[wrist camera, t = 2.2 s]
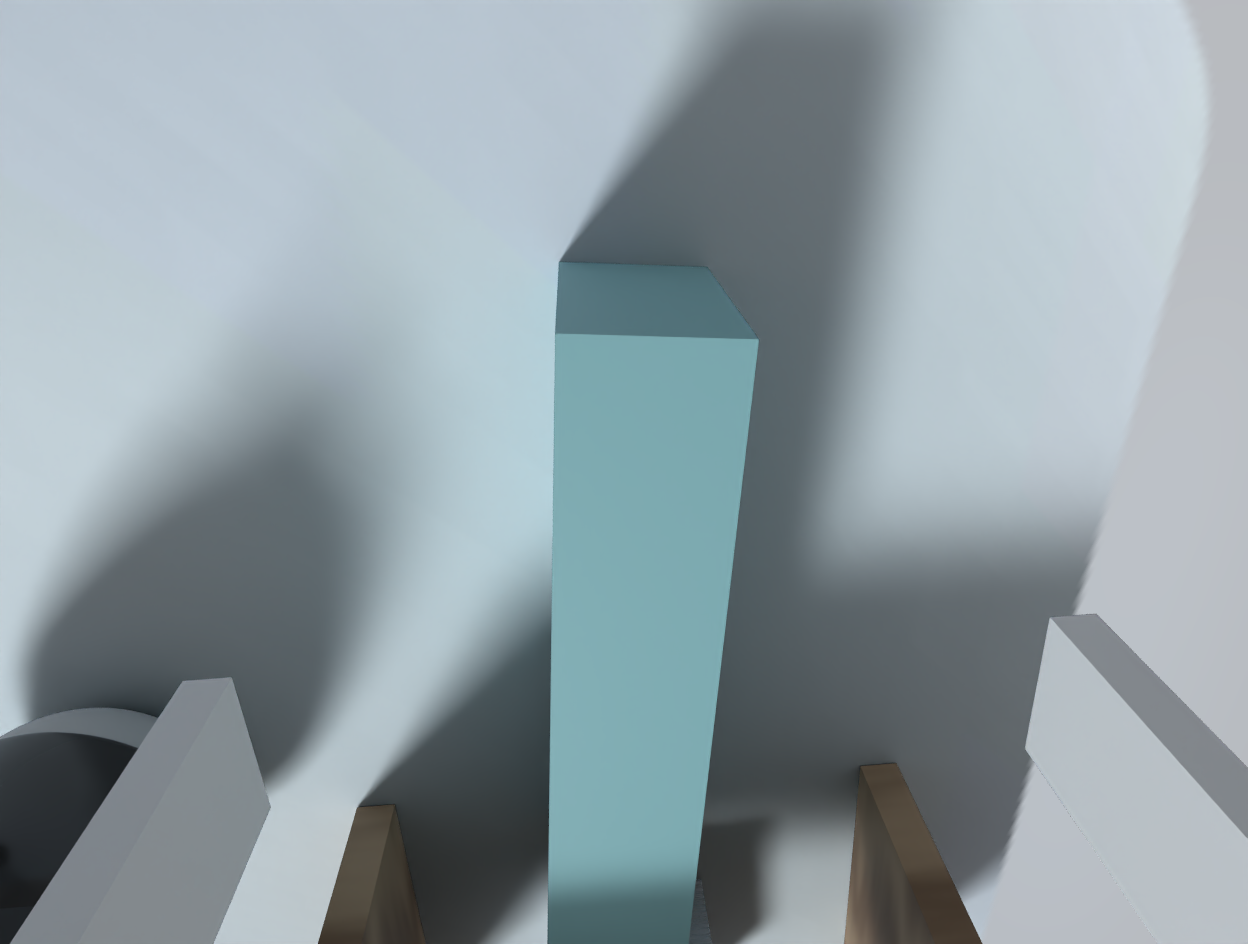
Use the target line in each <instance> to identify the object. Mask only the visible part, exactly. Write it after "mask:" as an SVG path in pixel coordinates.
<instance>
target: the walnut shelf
mask: <svg viewBox="0 0 1248 944" xmlns="http://www.w3.org/2000/svg"><path fill="white" fill-rule="evenodd" d="M318 944H426V942H425V938H424V933H423V929H422V924H421V920H420V915H419V911H418V906H417V902H416V898H415V893H414V889H413V884H412V880H411V875H410V871H409V866H408V862H407V857H406V853H405V848H404V844H403V839H402V835H401V830H400V826H399V822H398V817H397V813H396V808H395V804H393V805H381V806H369V807H357V810H356V813H355V817H354V820H353V824H352V827H351V831H350V834H349V838H348V841H347V845H346V848H345V851H344V855H343V858H342V862H341V865H340V869H339V872H338V876H337V879H336V883H335V886H334V890H333V893H332V897H331V900H330V904H329V907H328V910H327V914H326V917H325V921H324V924H323V928H322V931H321V935H320V938H319V942H318ZM844 944H982V942H981V940H980V938H979V936H978V934H977V931H976V929H975V927H974V925H973V923H972V921H971V919H970V917H969V915H968V913H967V910H966V908H965V906H964V904H963V902H962V900H961V898H960V896H959V894H958V891H957V889H956V887H955V885H954V883H953V881H952V879H951V877H950V875H949V873H948V870H947V868H946V866H945V864H944V862H943V860H942V858H941V856H940V854H939V852H938V849H937V847H936V845H935V843H934V841H933V839H932V837H931V835H930V833H929V831H928V828H927V826H926V824H925V822H924V820H923V818H922V816H921V814H920V812H919V809H918V807H917V805H916V803H915V801H914V799H913V797H912V795H911V793H910V791H909V788H908V786H907V784H906V782H905V780H904V778H903V776H902V774H901V772H900V770H899V767H898V765H897V763H893V764H881V765H869V766H860V776H859V787H858V798H857V809H856V820H855V831H854V842H853V853H852V864H851V875H850V886H849V897H848V908H847V919H846V930H845V941H844Z"/></svg>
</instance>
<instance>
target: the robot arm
mask: <svg viewBox="0 0 1248 944" xmlns="http://www.w3.org/2000/svg"><path fill="white" fill-rule="evenodd" d="M1025 749H1026V751H1027V752H1028V754H1029V755H1030V757H1031V758H1032V760H1033V761H1034V763H1035V764H1036V766H1037V767H1038V769H1039V770H1040V772H1041V773H1042V775H1043V776H1044V777H1045V779H1046V780H1047V782H1048V783H1049V785H1050V786H1051V788H1052V789H1053V791H1054V792H1055V794H1056V795H1057V797H1058V798H1059V800H1060V801H1061V803H1062V804H1063V805H1064V807H1065V808H1066V810H1067V811H1068V813H1069V814H1070V816H1071V817H1072V819H1073V820H1074V822H1075V823H1076V824H1077V826H1078V828H1079V829H1080V831H1081V832H1082V833H1083V835H1084V836H1085V838H1086V839H1087V841H1088V842H1089V844H1090V845H1091V847H1092V848H1093V850H1094V851H1095V853H1096V854H1097V855H1098V857H1099V859H1100V860H1101V862H1102V863H1103V864H1104V866H1105V867H1106V869H1107V870H1108V872H1109V873H1110V875H1111V876H1112V878H1113V879H1114V881H1115V882H1116V884H1117V885H1118V886H1119V888H1120V890H1121V891H1122V892H1123V894H1124V895H1125V897H1126V898H1127V900H1128V901H1129V903H1130V904H1131V906H1132V907H1133V909H1134V910H1135V912H1136V913H1137V915H1138V916H1139V918H1140V919H1141V921H1142V922H1143V923H1144V925H1145V926H1146V928H1147V929H1148V931H1149V932H1150V934H1151V935H1152V937H1153V938H1154V940H1155V941H1156V943H1157V944H1248V767H1247V766H1246V765H1245V764H1244V763H1243V762H1242V761H1241V760H1240V759H1239V758H1238V757H1237V756H1236V755H1235V754H1234V753H1233V752H1232V751H1231V750H1230V749H1229V748H1228V747H1227V746H1226V745H1225V744H1224V743H1223V742H1222V741H1221V740H1220V739H1219V738H1218V737H1217V736H1216V735H1215V734H1214V733H1213V732H1212V731H1211V730H1210V729H1209V728H1208V727H1207V726H1206V725H1205V724H1204V723H1203V722H1202V721H1201V720H1200V719H1199V718H1198V717H1197V716H1196V715H1195V713H1194V712H1193V711H1192V710H1190V709H1189V707H1188V706H1187V705H1186V704H1184V702H1183V701H1182V700H1181V699H1180V698H1179V697H1178V696H1177V695H1176V694H1175V693H1174V692H1173V691H1172V690H1171V689H1170V688H1169V687H1168V686H1167V685H1166V684H1165V683H1164V682H1163V681H1162V680H1161V679H1160V678H1159V677H1158V676H1157V675H1156V674H1155V673H1154V672H1153V671H1152V670H1151V669H1150V668H1149V667H1148V666H1147V665H1146V664H1145V663H1144V662H1143V661H1142V660H1141V659H1140V658H1139V657H1138V656H1137V655H1136V654H1135V653H1134V652H1133V651H1132V650H1131V649H1130V648H1129V647H1128V645H1127V644H1126V643H1125V642H1124V641H1123V640H1122V639H1121V638H1120V637H1119V636H1118V635H1117V634H1116V633H1115V632H1114V631H1113V630H1112V629H1111V628H1110V627H1109V626H1108V625H1107V624H1106V623H1105V622H1104V621H1103V620H1102V619H1101V618H1100V617H1099V616H1098V615H1097V614H1086V615H1072V616H1059V617H1050V619H1049V624H1048V629H1047V634H1046V640H1045V645H1044V650H1043V656H1042V661H1041V666H1040V671H1039V677H1038V682H1037V687H1036V693H1035V698H1034V703H1033V708H1032V714H1031V719H1030V724H1029V730H1028V735H1027V740H1026V745H1025ZM270 808H271V806H270V803H269V800H268V796H267V793H266V790H265V786H264V783H263V780H262V776H261V773H260V770H259V766H258V763H257V760H256V756H255V753H254V750H253V746H252V743H251V740H250V736H249V733H248V730H247V726H246V723H245V720H244V716H243V713H242V710H241V706H240V703H239V700H238V696H237V693H236V690H235V686H234V683H233V680H232V677H228V678H215V679H201V680H187V681H182V683H181V684H180V686H179V687H178V689H177V690H176V692H175V693H174V695H173V696H172V698H171V699H170V701H169V702H168V704H167V705H166V707H165V708H164V710H163V712H162V713H161V715H160V716H159V718H158V719H157V721H156V722H155V724H154V725H153V727H152V728H151V730H150V731H149V733H148V734H147V736H146V737H145V739H144V740H143V742H142V743H141V745H140V747H139V748H138V750H137V751H136V753H135V754H134V756H133V757H132V759H131V760H130V762H129V763H128V765H127V766H126V768H125V769H124V771H123V772H122V774H121V775H120V777H119V778H118V780H117V782H116V783H115V785H114V786H113V788H112V789H111V791H110V792H109V794H108V795H107V797H106V798H105V800H104V801H103V803H102V804H101V806H100V807H99V809H98V810H97V812H96V813H95V815H94V816H93V818H92V820H91V821H90V823H89V824H88V826H87V827H86V829H85V830H84V832H83V833H82V835H81V836H80V838H79V839H78V841H77V842H76V844H75V845H74V847H73V848H72V850H71V851H70V853H69V855H68V856H67V858H66V859H65V861H64V862H63V864H62V865H61V867H60V868H59V870H58V871H57V873H56V874H55V876H54V877H53V879H52V880H51V882H50V883H49V885H48V886H47V888H46V890H45V891H44V893H43V894H42V896H41V897H40V899H39V900H38V902H37V903H36V905H35V906H27V907H14V908H2V909H0V944H213V943H214V941H215V938H216V936H217V934H218V931H219V929H220V927H221V924H222V922H223V919H224V917H225V915H226V912H227V910H228V908H229V905H230V903H231V900H232V898H233V896H234V893H235V891H236V889H237V886H238V884H239V881H240V879H241V877H242V874H243V872H244V870H245V867H246V865H247V862H248V860H249V858H250V855H251V853H252V851H253V848H254V846H255V843H256V841H257V839H258V836H259V834H260V831H261V829H262V827H263V824H264V822H265V820H266V817H267V815H268V812H269V810H270Z"/></svg>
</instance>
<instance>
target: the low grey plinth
mask: <svg viewBox="0 0 1248 944" xmlns="http://www.w3.org/2000/svg"><path fill="white" fill-rule="evenodd" d="M689 944H712V942H711V936H710V930H709V924H708V918H707V911H706V905H705V899H704V893H703V887H702V881H701V879H699V880H696V884H695V892H694V901H693V909H692V918H691V926H690V935H689Z"/></svg>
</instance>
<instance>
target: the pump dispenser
mask: <svg viewBox="0 0 1248 944" xmlns="http://www.w3.org/2000/svg"><path fill="white" fill-rule="evenodd" d="M157 719H158V718H156V717H154V716H151V715H147V714H144V713H140V712H136V711H131V710H125V709H117V708H84V709H76V710H69V711H64V712H59V713H55V714H51V715H48V716H45V717H42V718H39V719H36V720H33V721H31V722H29V723H26V724H24V725H22V726H19V727H17V728H15V729H14V730H12V731H10V732H8V733H6V734H4V735H2V736H1V737H0V909H2V908H14V907H27V906H35V905H36V903H37V902H38V900H39V899H40V897H41V896H42V894H43V893H44V891H45V890H46V888H47V886H48V885H49V883H50V882H51V880H52V879H53V877H54V876H55V874H56V873H57V871H58V870H59V868H60V867H61V865H62V864H63V862H64V861H65V859H66V858H67V856H68V855H69V853H70V851H71V850H72V848H73V847H74V845H75V844H76V842H77V841H78V839H79V838H80V836H81V835H82V833H83V832H84V830H85V829H86V827H87V826H88V824H89V823H90V821H91V820H92V818H93V816H94V815H95V813H96V812H97V810H98V809H99V807H100V806H101V804H102V803H103V801H104V800H105V798H106V797H107V795H108V794H109V792H110V791H111V789H112V788H113V786H114V785H115V783H116V782H117V780H118V778H119V777H120V775H121V774H122V772H123V771H124V769H125V768H126V766H127V765H128V763H129V762H130V760H131V759H132V757H133V756H134V754H135V753H136V751H137V750H138V748H139V747H140V745H141V743H142V742H143V740H144V739H145V737H146V736H147V734H148V733H149V731H150V730H151V728H152V727H153V725H154V724H155V722H156V721H157Z"/></svg>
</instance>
